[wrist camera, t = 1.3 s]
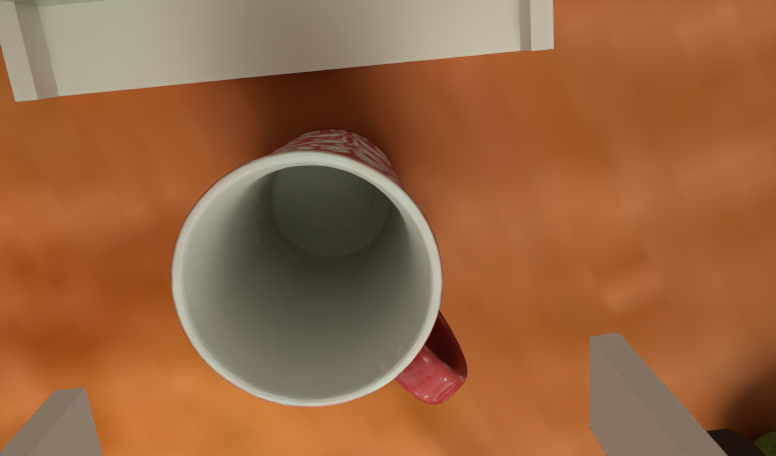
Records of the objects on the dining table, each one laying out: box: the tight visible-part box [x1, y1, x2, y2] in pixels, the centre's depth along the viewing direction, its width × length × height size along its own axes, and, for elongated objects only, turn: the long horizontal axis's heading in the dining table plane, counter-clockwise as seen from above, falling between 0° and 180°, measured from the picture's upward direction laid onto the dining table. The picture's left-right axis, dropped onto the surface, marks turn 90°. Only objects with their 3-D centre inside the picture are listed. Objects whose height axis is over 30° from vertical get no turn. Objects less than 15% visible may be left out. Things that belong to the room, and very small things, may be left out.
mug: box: [171, 129, 467, 407], centre depth 27 cm, size 13×9×14 cm
